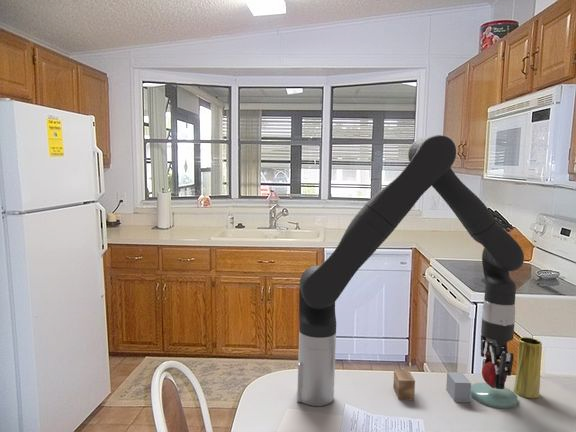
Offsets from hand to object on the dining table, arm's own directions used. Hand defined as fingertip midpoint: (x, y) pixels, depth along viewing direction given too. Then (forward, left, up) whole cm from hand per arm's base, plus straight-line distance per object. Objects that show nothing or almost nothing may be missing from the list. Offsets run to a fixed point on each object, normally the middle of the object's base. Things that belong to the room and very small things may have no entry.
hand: (493, 382), depth 113 cm
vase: (+10, +3, -4) cm, 11 cm away
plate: (0, 0, -4) cm, 4 cm away
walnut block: (-23, 0, -4) cm, 23 cm away
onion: (0, 0, -2) cm, 2 cm away
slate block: (-9, 0, -4) cm, 10 cm away
